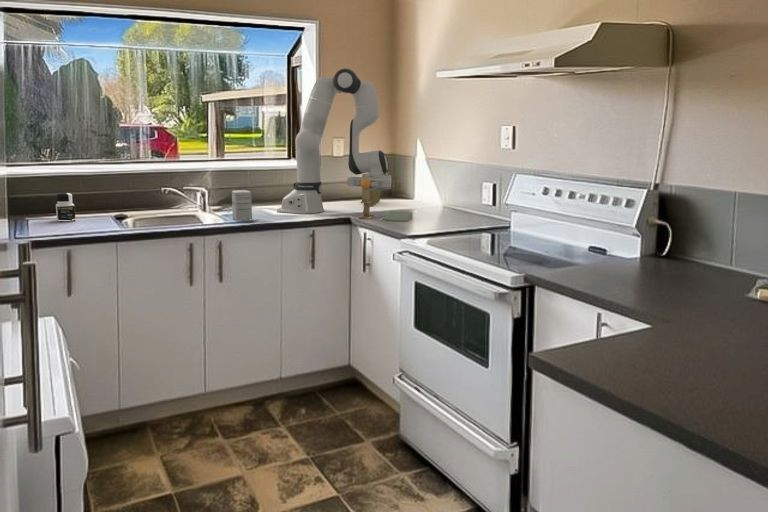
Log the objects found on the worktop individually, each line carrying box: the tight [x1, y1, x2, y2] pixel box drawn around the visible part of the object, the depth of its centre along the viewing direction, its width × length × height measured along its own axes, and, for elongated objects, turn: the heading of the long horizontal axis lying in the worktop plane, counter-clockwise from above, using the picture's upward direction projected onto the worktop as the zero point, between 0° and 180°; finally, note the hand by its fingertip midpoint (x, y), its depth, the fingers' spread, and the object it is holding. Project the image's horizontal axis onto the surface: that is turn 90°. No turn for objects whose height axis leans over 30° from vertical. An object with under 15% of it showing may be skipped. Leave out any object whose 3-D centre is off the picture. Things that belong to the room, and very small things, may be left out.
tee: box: [358, 199, 376, 220], centre depth 335 cm, size 6×6×8 cm
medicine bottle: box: [55, 192, 77, 220], centre depth 323 cm, size 7×7×12 cm
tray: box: [384, 210, 413, 222], centre depth 332 cm, size 10×10×3 cm
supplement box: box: [231, 189, 253, 221], centre depth 329 cm, size 7×7×13 cm
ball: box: [359, 178, 371, 189], centre depth 333 cm, size 5×5×5 cm
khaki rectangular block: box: [361, 173, 381, 207], centre depth 383 cm, size 22×10×15 cm, turn 1°
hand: (365, 183), depth 332 cm, fingers closed on ball, 5 cm apart
